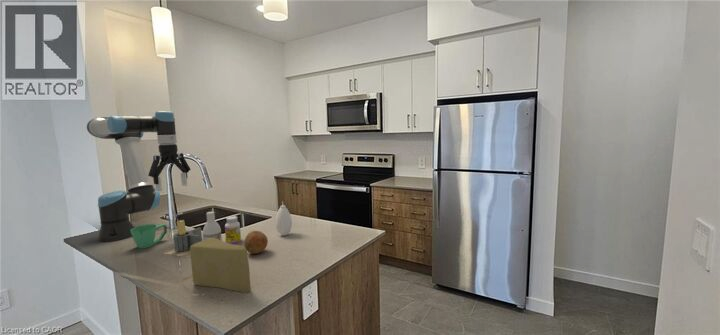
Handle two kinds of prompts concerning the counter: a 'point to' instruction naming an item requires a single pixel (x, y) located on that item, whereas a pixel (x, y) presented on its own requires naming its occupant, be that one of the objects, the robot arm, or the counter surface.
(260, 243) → the onion
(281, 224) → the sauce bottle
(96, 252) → the counter surface
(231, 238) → the supplement bottle
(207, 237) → the bath foam
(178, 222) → the hinge pin
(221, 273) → the cheese
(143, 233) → the mug
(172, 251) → the mounting board
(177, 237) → the grey piece
